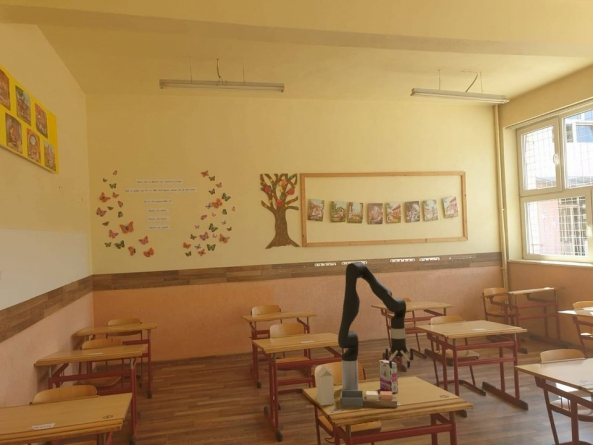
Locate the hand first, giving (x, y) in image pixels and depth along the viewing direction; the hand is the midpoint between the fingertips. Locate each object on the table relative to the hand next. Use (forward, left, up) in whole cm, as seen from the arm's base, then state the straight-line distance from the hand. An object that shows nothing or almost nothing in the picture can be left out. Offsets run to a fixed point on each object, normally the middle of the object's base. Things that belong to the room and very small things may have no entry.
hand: (399, 368), depth 240 cm
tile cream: (-1, -15, -16) cm, 22 cm away
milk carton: (-1, -39, -19) cm, 44 cm away
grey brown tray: (-1, -11, -19) cm, 22 cm away
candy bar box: (-24, -4, -19) cm, 31 cm away
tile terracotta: (-1, -7, -16) cm, 17 cm away
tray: (-1, -26, -19) cm, 32 cm away
